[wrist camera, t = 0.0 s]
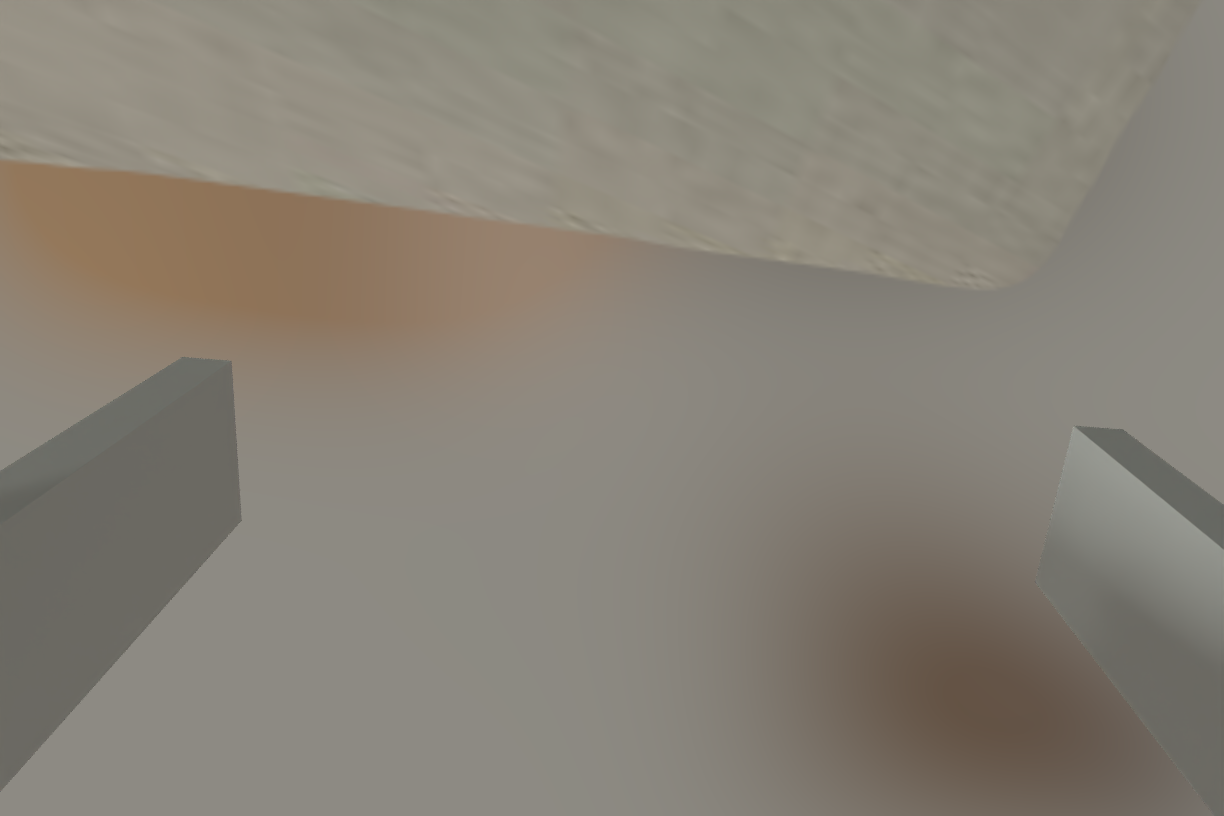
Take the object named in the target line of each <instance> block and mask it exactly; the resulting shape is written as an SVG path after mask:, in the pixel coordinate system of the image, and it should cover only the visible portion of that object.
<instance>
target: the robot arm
mask: <svg viewBox="0 0 1224 816" xmlns="http://www.w3.org/2000/svg"><path fill="white" fill-rule="evenodd" d="M236 442H237V441H236V425H235V410H234V394H233V378H232V362H231V361H227V360H213V359H201V358H200V359H199V358H188V357H182V358H181V359H179V360H177V361H176V362H174V363H172V364H171V365H169V366H167V367H166V368H164V369H163V370H161V371H159V372H158V373H156V374H155V375H153V376H151V377H150V378H148V379H147V380H145V381H144V382H142V383H140V384H139V385H137V386H135V387H134V388H132V389H131V390H129V391H127V392H126V393H124V394H123V395H121V396H119V397H118V398H116V399H115V400H113V401H112V402H110V403H108V404H107V405H105V406H103V407H102V408H100V409H99V410H97V411H95V412H94V413H92V414H91V415H89V416H87V417H86V418H84V419H83V420H81V421H80V422H78V423H76V424H75V425H73V426H71V427H70V428H68V429H67V430H65V431H64V432H62V433H60V434H59V435H57V436H55V437H54V438H52V439H51V440H49V441H48V442H46V443H44V444H43V445H41V446H40V447H38V448H36V449H35V450H33V451H31V452H30V453H28V454H27V455H25V456H24V457H22V458H20V459H19V460H17V461H15V462H14V463H12V464H11V465H9V466H7V467H6V468H4V469H3V470H1V471H0V792H1V790H2V789H3V788H4V787H5V786H6V785H7V784H8V782H9V781H10V780H11V779H12V778H13V777H14V776H15V775H16V774H17V772H18V771H19V770H20V769H21V768H22V767H23V766H24V765H25V763H26V762H27V761H28V760H29V759H30V758H31V757H32V756H33V754H34V753H35V752H36V751H37V750H38V749H39V748H40V747H41V745H42V744H43V743H44V742H45V741H46V740H47V739H48V738H49V736H50V735H51V734H52V733H53V732H54V731H55V730H56V729H57V727H58V726H59V725H60V724H61V723H62V722H63V721H64V720H65V718H66V717H67V716H68V715H69V714H70V712H72V711H73V709H74V708H75V707H76V706H77V705H78V704H79V703H80V702H81V700H82V699H83V698H84V697H85V696H86V695H87V694H88V693H89V691H90V690H91V689H92V688H93V687H94V686H95V685H96V683H97V682H98V681H99V680H100V679H101V678H102V677H103V676H104V675H105V673H106V672H107V671H108V670H109V669H110V668H111V667H112V665H113V664H114V663H115V662H116V661H117V660H118V659H119V658H120V657H121V655H122V654H123V653H124V652H125V651H126V650H127V649H128V648H129V646H130V645H131V644H132V643H133V642H134V641H135V640H136V639H137V637H138V636H139V635H140V634H141V633H142V632H143V631H144V630H145V628H146V627H147V626H148V625H149V624H150V623H151V622H152V621H153V619H154V618H155V617H156V616H157V615H158V614H159V613H160V612H161V610H162V609H163V608H164V607H165V606H166V605H167V604H168V603H169V601H170V600H171V599H172V598H173V597H174V596H175V595H176V594H177V592H178V591H179V590H180V589H181V588H182V587H183V586H184V585H185V583H186V582H187V581H188V580H189V579H190V578H191V577H192V576H193V574H194V573H195V572H196V571H197V570H198V569H199V567H201V565H202V564H203V563H204V562H205V561H206V560H207V559H208V558H209V557H210V555H211V554H212V553H213V552H214V551H215V550H216V549H217V547H218V546H219V545H220V544H221V543H222V542H223V541H224V540H225V539H226V537H227V536H228V535H229V534H230V533H231V532H232V531H233V530H234V528H235V527H236V526H237V525H238V524H239V523H240V522H241V521H242V520H241V506H240V505H241V504H240V489H239V473H238V457H237V443H236ZM1035 583H1036V584H1037V585H1038V587H1039V588H1040V589H1041V591H1042V592H1043V593H1044V595H1045V596H1046V597H1047V598H1048V600H1049V601H1050V602H1051V604H1052V605H1053V606H1054V608H1055V609H1056V610H1057V612H1058V613H1059V614H1060V615H1061V617H1062V618H1063V619H1064V620H1065V622H1066V623H1067V624H1068V626H1069V627H1070V628H1071V630H1072V631H1073V632H1074V634H1075V635H1076V636H1077V637H1078V639H1079V640H1080V642H1081V643H1082V644H1083V645H1084V647H1085V648H1086V649H1087V651H1088V652H1089V653H1090V654H1091V656H1092V657H1093V658H1094V660H1095V661H1096V662H1097V664H1098V665H1099V666H1100V668H1101V669H1102V670H1103V672H1104V673H1105V674H1106V676H1107V677H1108V678H1109V679H1110V681H1111V682H1112V683H1113V685H1114V686H1115V687H1116V689H1117V690H1118V691H1119V692H1120V694H1121V695H1122V696H1123V698H1124V699H1125V700H1126V702H1127V703H1128V704H1129V706H1130V707H1131V708H1132V709H1133V711H1134V712H1135V713H1136V715H1137V716H1138V717H1139V719H1140V720H1141V721H1142V722H1143V724H1144V725H1145V726H1146V728H1147V729H1148V730H1149V732H1150V733H1151V734H1152V736H1153V737H1154V738H1155V739H1156V741H1157V742H1158V743H1159V745H1160V746H1161V747H1162V749H1163V750H1164V751H1165V753H1166V754H1167V755H1168V756H1169V757H1170V759H1171V760H1172V762H1173V763H1174V764H1175V766H1176V767H1177V768H1178V769H1179V771H1180V772H1181V773H1182V775H1183V776H1184V777H1185V779H1186V780H1187V781H1188V783H1189V784H1190V785H1191V786H1192V788H1193V789H1194V790H1195V791H1196V793H1197V794H1198V796H1199V797H1200V798H1201V799H1202V801H1203V802H1204V803H1205V805H1206V806H1207V807H1208V809H1209V810H1210V811H1211V812H1212V814H1213V815H1214V816H1224V505H1223V504H1222V503H1220V502H1219V501H1218V500H1216V499H1215V498H1214V497H1212V496H1211V495H1210V494H1208V493H1207V492H1205V491H1204V490H1203V489H1201V488H1200V487H1199V486H1198V485H1196V484H1195V483H1194V482H1192V481H1191V480H1190V479H1188V478H1187V477H1186V476H1184V475H1183V474H1182V473H1180V472H1179V471H1178V470H1176V469H1175V468H1174V467H1172V466H1171V465H1170V464H1168V463H1167V462H1166V461H1164V460H1163V459H1161V458H1160V457H1159V456H1158V455H1156V454H1155V453H1154V452H1152V451H1151V450H1150V449H1148V448H1147V447H1145V446H1144V445H1143V444H1141V443H1140V442H1139V441H1138V440H1136V439H1135V438H1133V437H1132V436H1131V435H1129V434H1128V433H1127V432H1126V431H1124V430H1122V429H1109V428H1096V427H1095V428H1094V427H1082V426H1073V430H1072V435H1071V439H1070V443H1069V447H1068V451H1067V455H1066V459H1065V463H1064V467H1063V471H1062V475H1061V480H1060V483H1059V487H1058V491H1057V495H1056V499H1055V503H1054V507H1053V511H1052V516H1051V519H1050V524H1049V528H1048V532H1047V536H1046V540H1045V544H1044V548H1043V552H1042V556H1041V560H1040V564H1039V568H1038V572H1037V576H1036V580H1035Z"/></svg>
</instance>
